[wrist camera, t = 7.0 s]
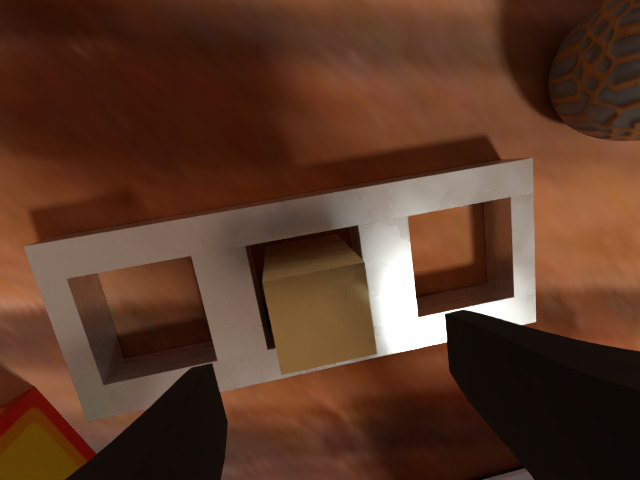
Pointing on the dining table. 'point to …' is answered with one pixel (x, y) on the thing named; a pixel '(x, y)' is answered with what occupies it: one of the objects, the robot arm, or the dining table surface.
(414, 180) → the white slotted frame
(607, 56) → the vase
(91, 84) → the dining table surface
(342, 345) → the block
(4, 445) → the baking soda box
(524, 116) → the dining table surface
